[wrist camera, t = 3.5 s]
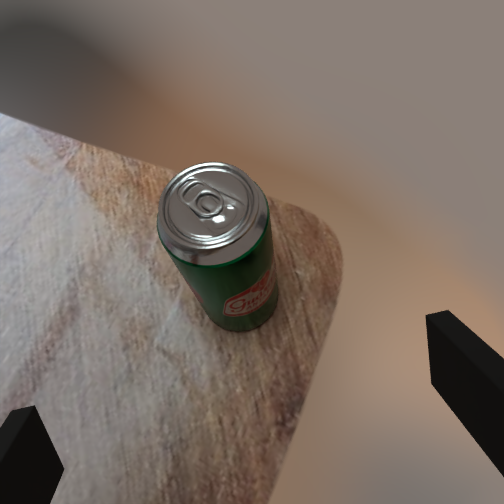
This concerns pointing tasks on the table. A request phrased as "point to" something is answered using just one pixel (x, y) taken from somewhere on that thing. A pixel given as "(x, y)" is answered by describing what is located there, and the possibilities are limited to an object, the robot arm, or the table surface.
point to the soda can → (221, 242)
